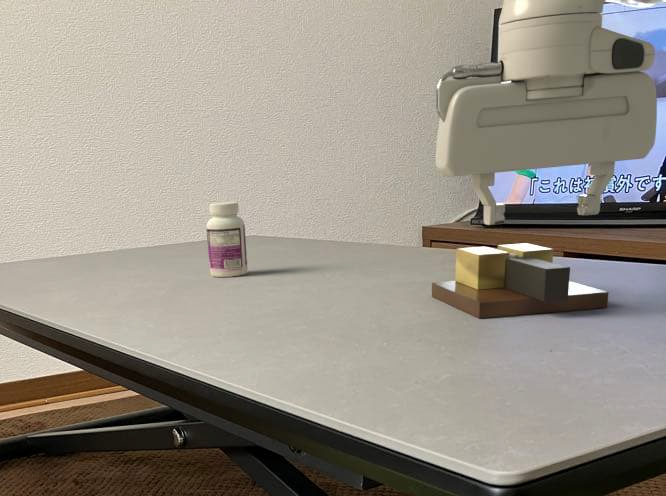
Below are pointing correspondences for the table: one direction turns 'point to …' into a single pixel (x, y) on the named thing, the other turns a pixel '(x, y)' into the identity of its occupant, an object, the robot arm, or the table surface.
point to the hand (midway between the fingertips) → (541, 219)
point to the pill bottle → (226, 241)
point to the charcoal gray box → (536, 278)
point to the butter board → (515, 300)
